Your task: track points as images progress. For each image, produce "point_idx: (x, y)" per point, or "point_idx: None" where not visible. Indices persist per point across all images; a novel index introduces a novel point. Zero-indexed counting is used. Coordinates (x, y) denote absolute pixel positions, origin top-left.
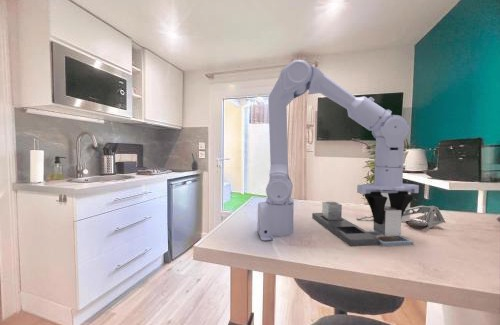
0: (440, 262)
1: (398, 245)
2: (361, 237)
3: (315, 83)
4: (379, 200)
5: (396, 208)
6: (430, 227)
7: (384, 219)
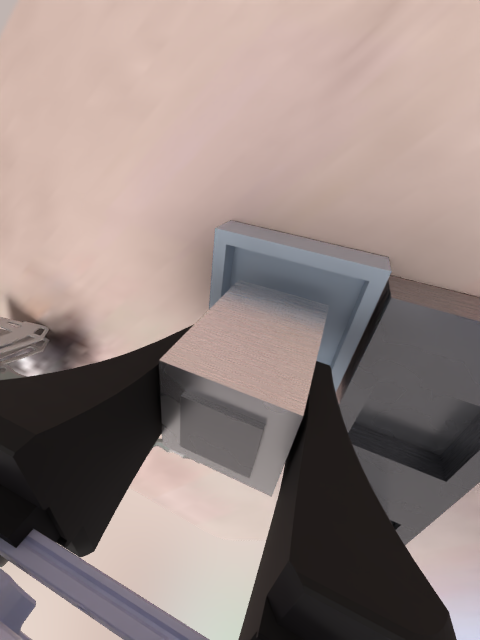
0: (235, 58)
1: (297, 243)
2: None
3: None
4: (412, 582)
5: (156, 399)
6: (36, 324)
7: (313, 368)
